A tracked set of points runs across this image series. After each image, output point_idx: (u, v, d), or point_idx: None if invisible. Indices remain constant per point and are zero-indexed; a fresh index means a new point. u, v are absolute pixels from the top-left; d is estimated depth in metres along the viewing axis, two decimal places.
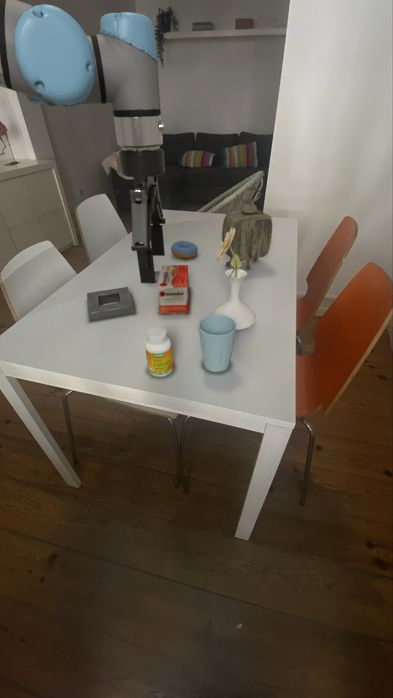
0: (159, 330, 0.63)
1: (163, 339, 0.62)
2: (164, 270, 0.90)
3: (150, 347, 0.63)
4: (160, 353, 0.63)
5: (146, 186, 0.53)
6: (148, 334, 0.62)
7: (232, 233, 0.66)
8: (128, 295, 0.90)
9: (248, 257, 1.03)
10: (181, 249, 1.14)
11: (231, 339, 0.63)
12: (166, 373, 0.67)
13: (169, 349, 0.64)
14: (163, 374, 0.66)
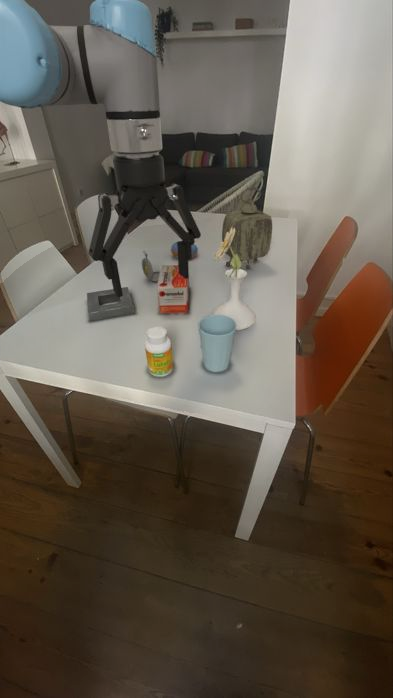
0: (159, 330, 0.63)
1: (163, 339, 0.62)
2: (164, 270, 0.90)
3: (150, 347, 0.63)
4: (160, 353, 0.63)
5: (122, 196, 0.48)
6: (148, 334, 0.62)
7: (232, 233, 0.66)
8: (128, 295, 0.90)
9: (248, 257, 1.03)
10: None
11: (231, 339, 0.63)
12: (166, 373, 0.67)
13: (169, 349, 0.64)
14: (163, 374, 0.66)
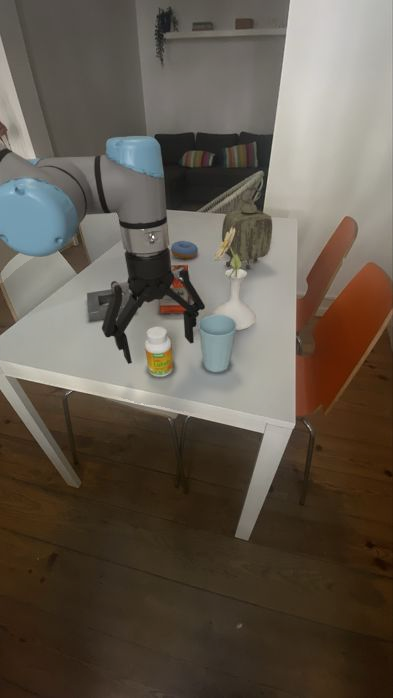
0: (159, 330, 0.63)
1: (163, 339, 0.62)
2: None
3: (150, 347, 0.63)
4: (160, 353, 0.63)
5: (132, 284, 0.54)
6: (148, 334, 0.62)
7: (232, 233, 0.66)
8: (128, 295, 0.90)
9: (248, 257, 1.03)
10: (181, 249, 1.14)
11: (231, 339, 0.63)
12: (166, 373, 0.67)
13: (169, 349, 0.64)
14: (163, 374, 0.66)
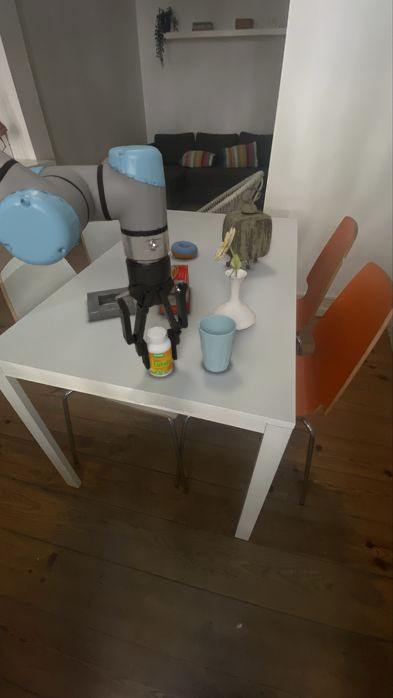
0: (159, 330, 0.63)
1: (163, 339, 0.62)
2: None
3: (150, 347, 0.63)
4: (160, 353, 0.63)
5: (131, 292, 0.55)
6: (148, 334, 0.62)
7: (232, 233, 0.66)
8: None
9: (248, 257, 1.03)
10: (181, 249, 1.14)
11: (231, 339, 0.63)
12: (166, 373, 0.67)
13: (169, 349, 0.64)
14: (163, 374, 0.66)
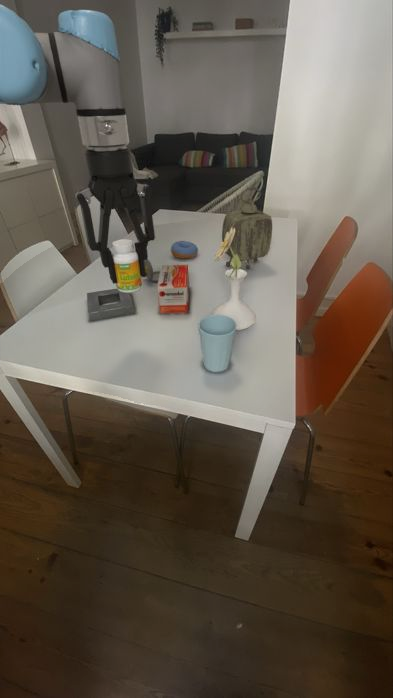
0: (126, 241, 0.63)
1: (128, 248, 0.61)
2: (164, 270, 0.90)
3: (115, 257, 0.62)
4: (125, 264, 0.62)
5: (91, 187, 0.54)
6: (113, 243, 0.62)
7: (232, 233, 0.66)
8: (128, 295, 0.90)
9: (248, 257, 1.03)
10: (181, 249, 1.14)
11: (231, 339, 0.63)
12: (134, 289, 0.66)
13: (135, 261, 0.63)
14: (130, 289, 0.66)
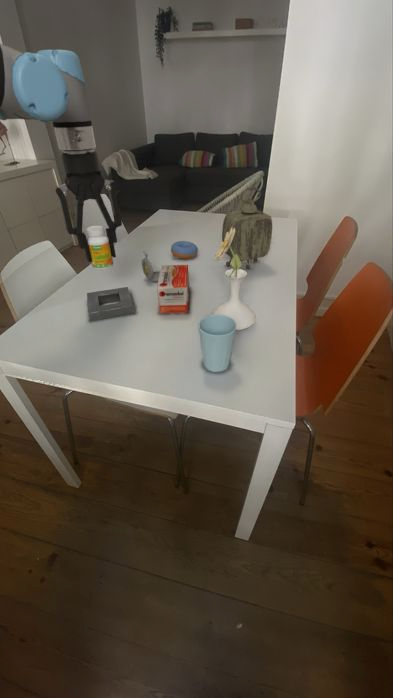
0: (98, 227, 0.77)
1: (100, 233, 0.76)
2: (164, 270, 0.90)
3: (89, 240, 0.76)
4: (98, 245, 0.76)
5: (67, 183, 0.68)
6: (87, 229, 0.76)
7: (232, 233, 0.66)
8: (128, 295, 0.90)
9: (248, 257, 1.03)
10: (181, 249, 1.14)
11: (231, 339, 0.63)
12: (106, 267, 0.80)
13: (106, 243, 0.77)
14: (103, 267, 0.80)
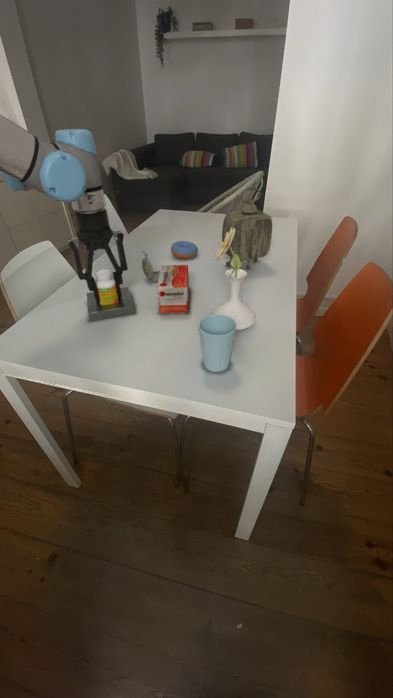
0: (106, 271, 0.84)
1: (107, 277, 0.83)
2: (164, 270, 0.90)
3: (98, 283, 0.84)
4: (105, 288, 0.84)
5: (79, 237, 0.75)
6: (96, 274, 0.83)
7: (232, 233, 0.66)
8: (128, 295, 0.90)
9: (248, 257, 1.03)
10: (181, 249, 1.14)
11: (231, 339, 0.63)
12: None
13: (113, 286, 0.85)
14: None
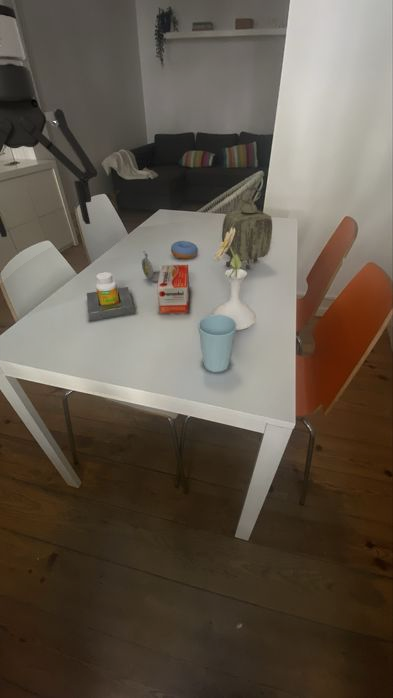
0: (106, 274, 0.85)
1: (108, 280, 0.84)
2: (164, 270, 0.90)
3: (99, 286, 0.84)
4: (106, 291, 0.84)
5: None
6: (97, 276, 0.84)
7: (232, 233, 0.66)
8: (128, 295, 0.90)
9: (248, 257, 1.03)
10: (181, 249, 1.14)
11: (231, 339, 0.63)
12: None
13: (114, 288, 0.85)
14: None
